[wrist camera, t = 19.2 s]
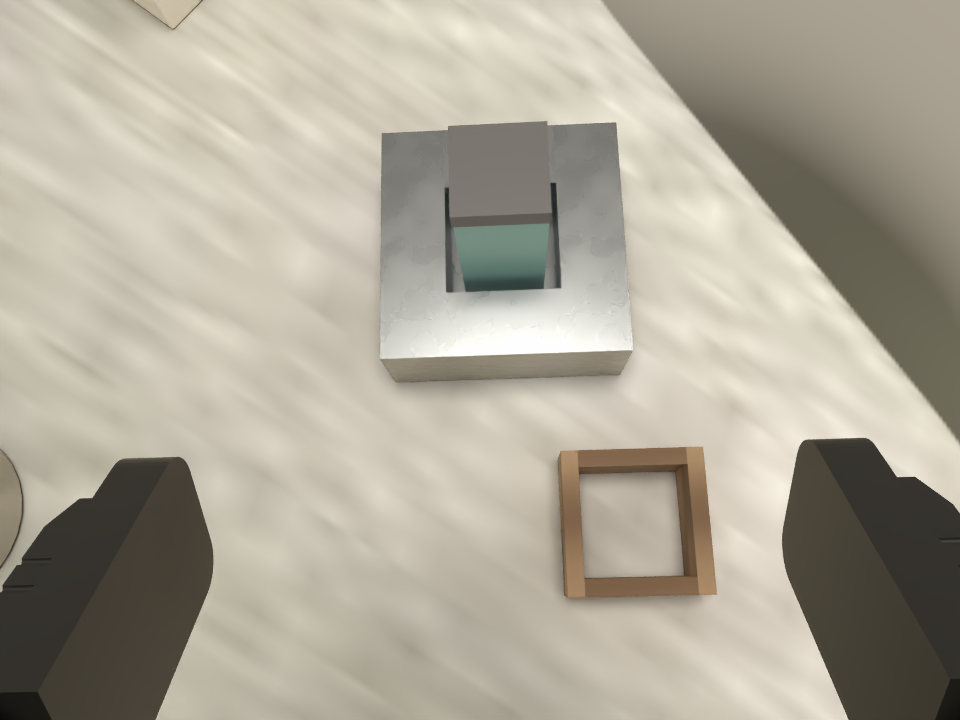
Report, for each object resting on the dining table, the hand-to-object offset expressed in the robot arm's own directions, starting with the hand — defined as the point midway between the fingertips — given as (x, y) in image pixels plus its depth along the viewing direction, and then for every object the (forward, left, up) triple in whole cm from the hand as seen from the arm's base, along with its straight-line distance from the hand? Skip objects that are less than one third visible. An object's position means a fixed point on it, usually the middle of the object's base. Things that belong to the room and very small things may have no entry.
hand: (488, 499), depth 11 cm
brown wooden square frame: (+4, -5, -31) cm, 31 cm away
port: (+13, +7, -31) cm, 34 cm away
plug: (+13, +7, -30) cm, 33 cm away
